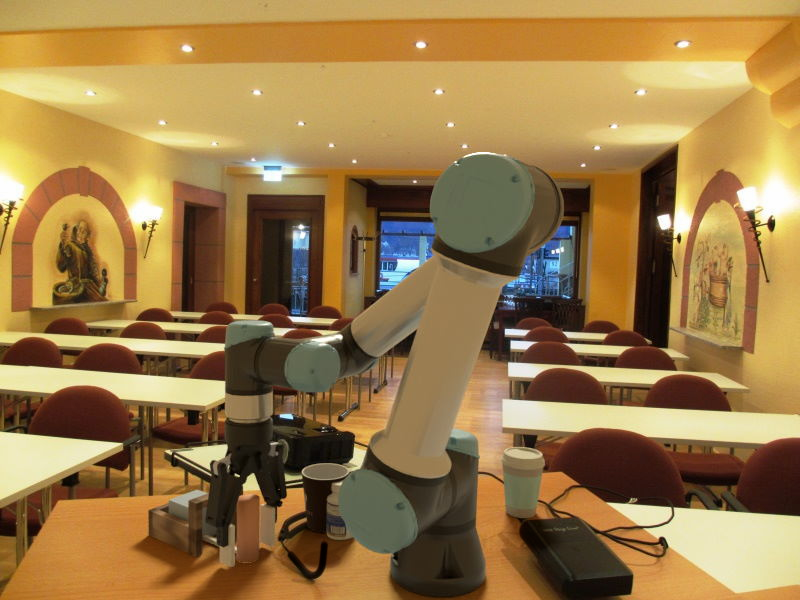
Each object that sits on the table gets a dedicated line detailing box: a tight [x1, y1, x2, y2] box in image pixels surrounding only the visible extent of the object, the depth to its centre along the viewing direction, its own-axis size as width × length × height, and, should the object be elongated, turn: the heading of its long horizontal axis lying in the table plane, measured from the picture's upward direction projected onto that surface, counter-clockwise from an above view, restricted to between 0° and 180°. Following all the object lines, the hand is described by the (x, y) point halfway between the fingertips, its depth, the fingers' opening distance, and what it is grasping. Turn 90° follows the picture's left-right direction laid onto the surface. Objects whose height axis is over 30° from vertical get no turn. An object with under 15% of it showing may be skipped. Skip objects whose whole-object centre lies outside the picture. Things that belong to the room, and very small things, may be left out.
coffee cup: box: [500, 446, 546, 519], centre depth 124 cm, size 8×8×12 cm
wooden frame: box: [147, 485, 244, 557], centre depth 111 cm, size 13×10×9 cm
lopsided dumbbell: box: [168, 489, 261, 564], centre depth 108 cm, size 19×6×10 cm, turn 55°
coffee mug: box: [301, 462, 350, 533], centre depth 117 cm, size 12×9×10 cm
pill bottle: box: [325, 480, 353, 541], centre depth 113 cm, size 5×5×10 cm
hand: (247, 553), depth 104 cm, fingers open, 8 cm apart
